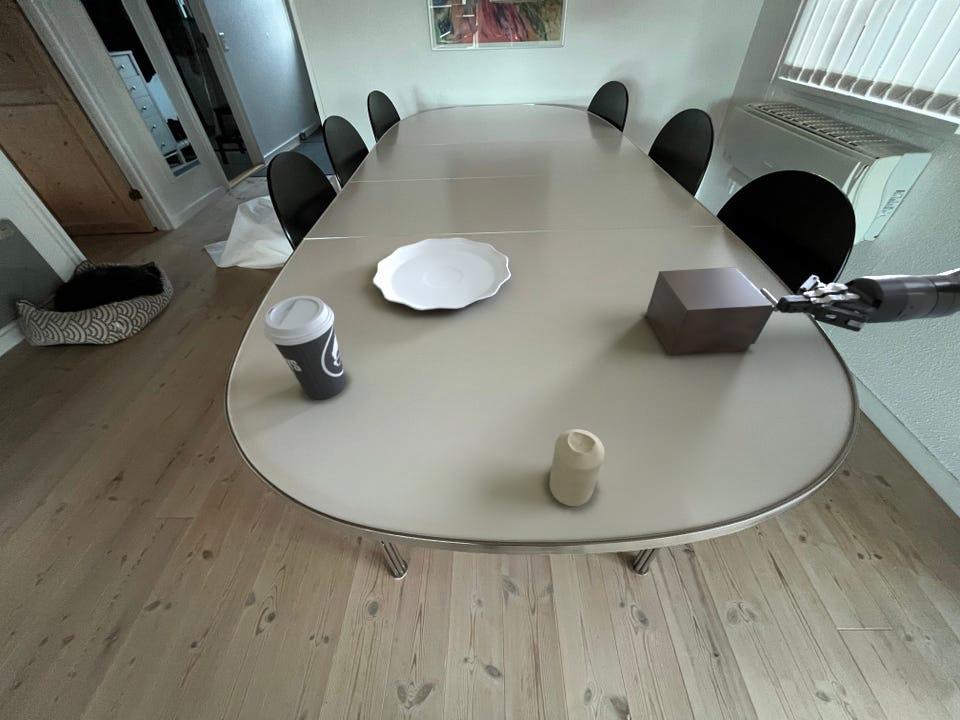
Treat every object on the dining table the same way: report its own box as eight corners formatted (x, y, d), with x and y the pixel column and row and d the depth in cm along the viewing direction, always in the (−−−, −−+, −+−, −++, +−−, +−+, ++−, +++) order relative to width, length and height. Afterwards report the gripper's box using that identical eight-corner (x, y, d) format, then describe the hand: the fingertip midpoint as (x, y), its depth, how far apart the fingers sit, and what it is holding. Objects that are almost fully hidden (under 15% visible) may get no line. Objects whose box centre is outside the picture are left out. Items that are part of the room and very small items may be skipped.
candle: (594, 473, 54) (608, 426, 47) (590, 511, 50) (605, 467, 43) (552, 464, 55) (560, 417, 48) (546, 501, 51) (553, 456, 44)
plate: (536, 288, 86) (537, 278, 84) (410, 337, 75) (408, 327, 73) (466, 235, 104) (466, 226, 103) (357, 269, 94) (355, 260, 92)
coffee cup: (323, 358, 71) (294, 286, 61) (367, 374, 68) (344, 301, 58) (282, 395, 65) (242, 322, 55) (328, 415, 62) (295, 341, 52)
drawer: (744, 307, 77) (762, 271, 72) (776, 342, 70) (799, 305, 64) (659, 312, 77) (671, 276, 72) (682, 348, 69) (698, 311, 64)
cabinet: (715, 310, 78) (734, 266, 72) (747, 350, 70) (773, 305, 63) (645, 314, 78) (659, 271, 71) (669, 355, 70) (687, 310, 63)
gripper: (868, 258, 68) (767, 263, 67) (939, 303, 58) (821, 309, 58) (842, 295, 73) (748, 301, 72) (903, 343, 63) (794, 349, 63)
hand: (780, 305), depth 65 cm, fingers closed
